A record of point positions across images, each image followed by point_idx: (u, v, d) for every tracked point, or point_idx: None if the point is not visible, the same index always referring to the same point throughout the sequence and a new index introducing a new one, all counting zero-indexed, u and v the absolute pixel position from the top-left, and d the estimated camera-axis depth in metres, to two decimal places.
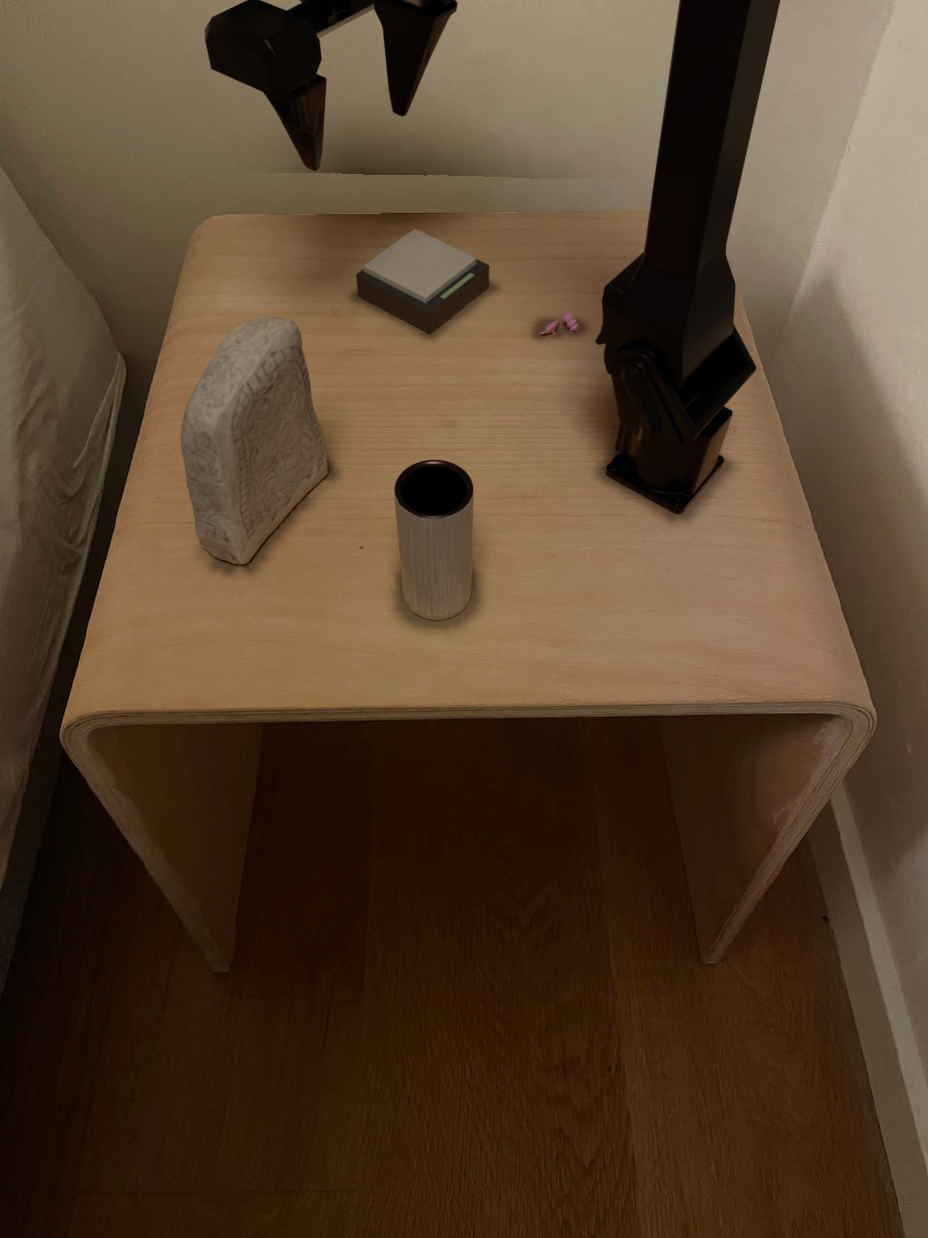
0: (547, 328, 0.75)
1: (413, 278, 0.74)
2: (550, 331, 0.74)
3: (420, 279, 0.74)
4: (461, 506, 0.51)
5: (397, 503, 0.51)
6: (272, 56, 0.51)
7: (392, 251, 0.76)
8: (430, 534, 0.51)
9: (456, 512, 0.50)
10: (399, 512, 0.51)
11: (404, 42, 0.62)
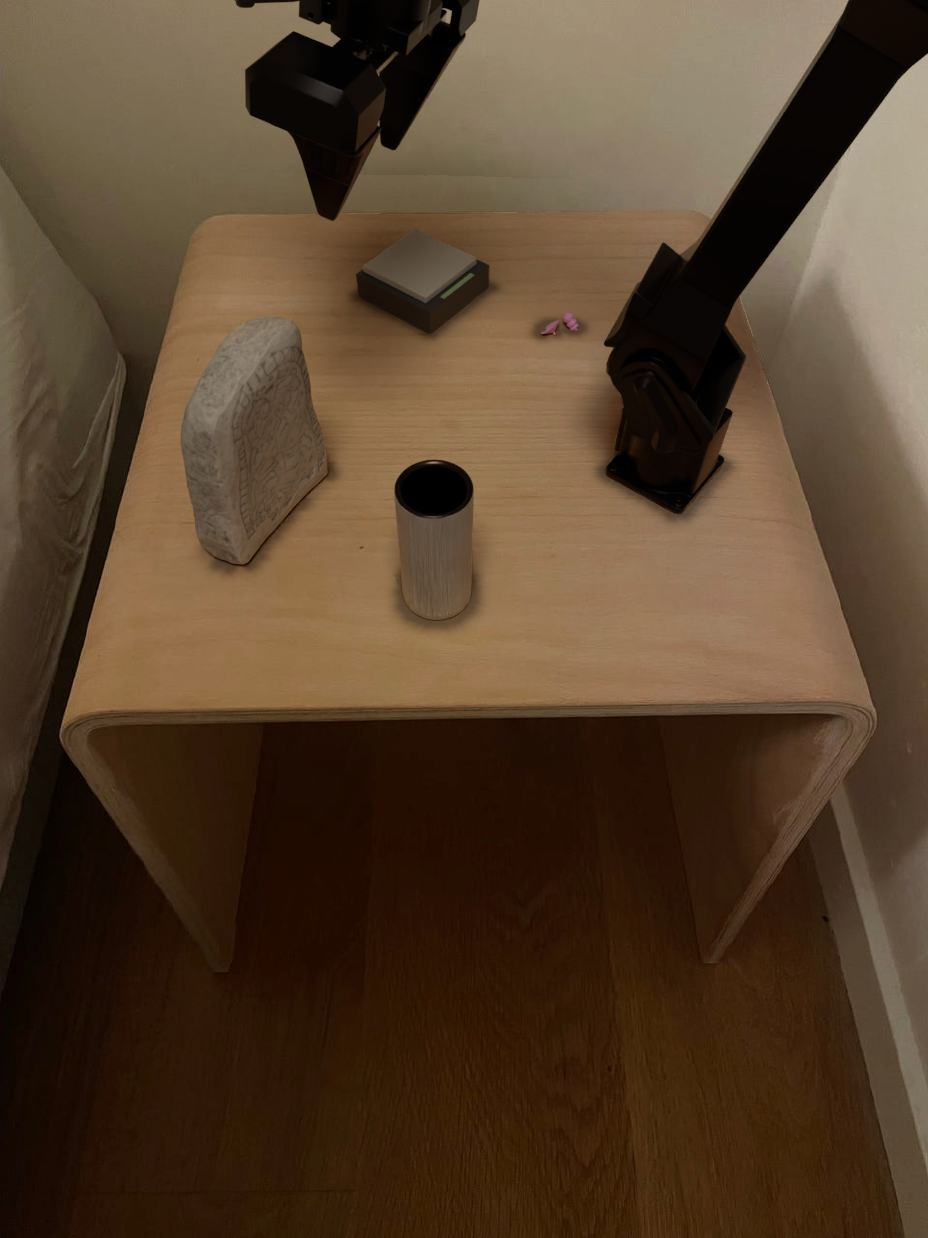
0: (547, 328, 0.75)
1: (413, 278, 0.74)
2: (550, 331, 0.74)
3: (420, 279, 0.74)
4: (461, 506, 0.51)
5: (397, 503, 0.51)
6: (350, 110, 0.44)
7: (392, 251, 0.76)
8: (430, 534, 0.51)
9: (456, 512, 0.50)
10: (399, 512, 0.51)
11: (407, 72, 0.56)
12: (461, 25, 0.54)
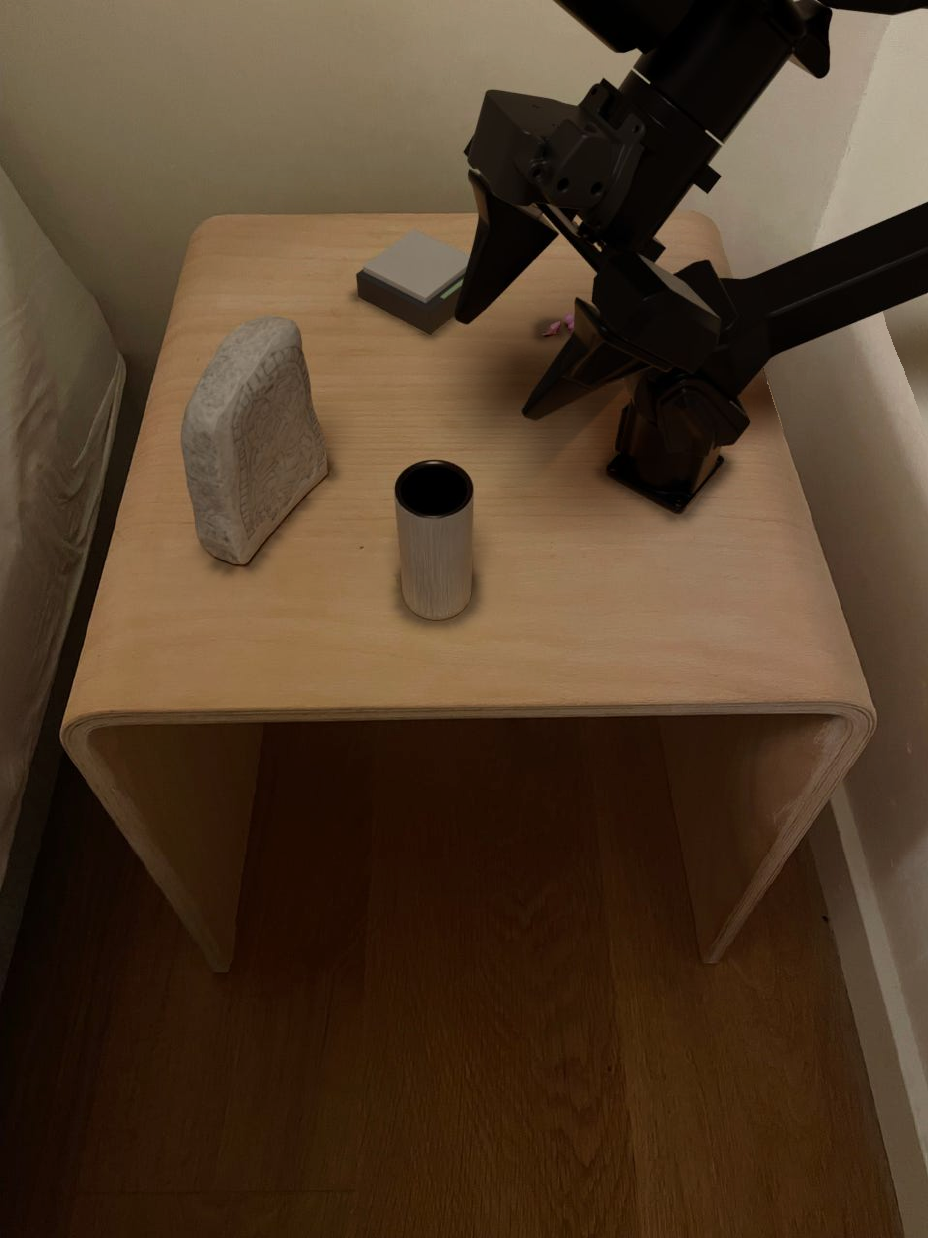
0: None
1: (413, 278, 0.74)
2: (551, 332, 0.74)
3: (420, 279, 0.74)
4: (461, 506, 0.51)
5: (397, 503, 0.51)
6: (718, 336, 0.44)
7: (392, 251, 0.76)
8: (430, 534, 0.51)
9: (456, 512, 0.50)
10: (399, 512, 0.51)
11: (511, 251, 0.52)
12: None
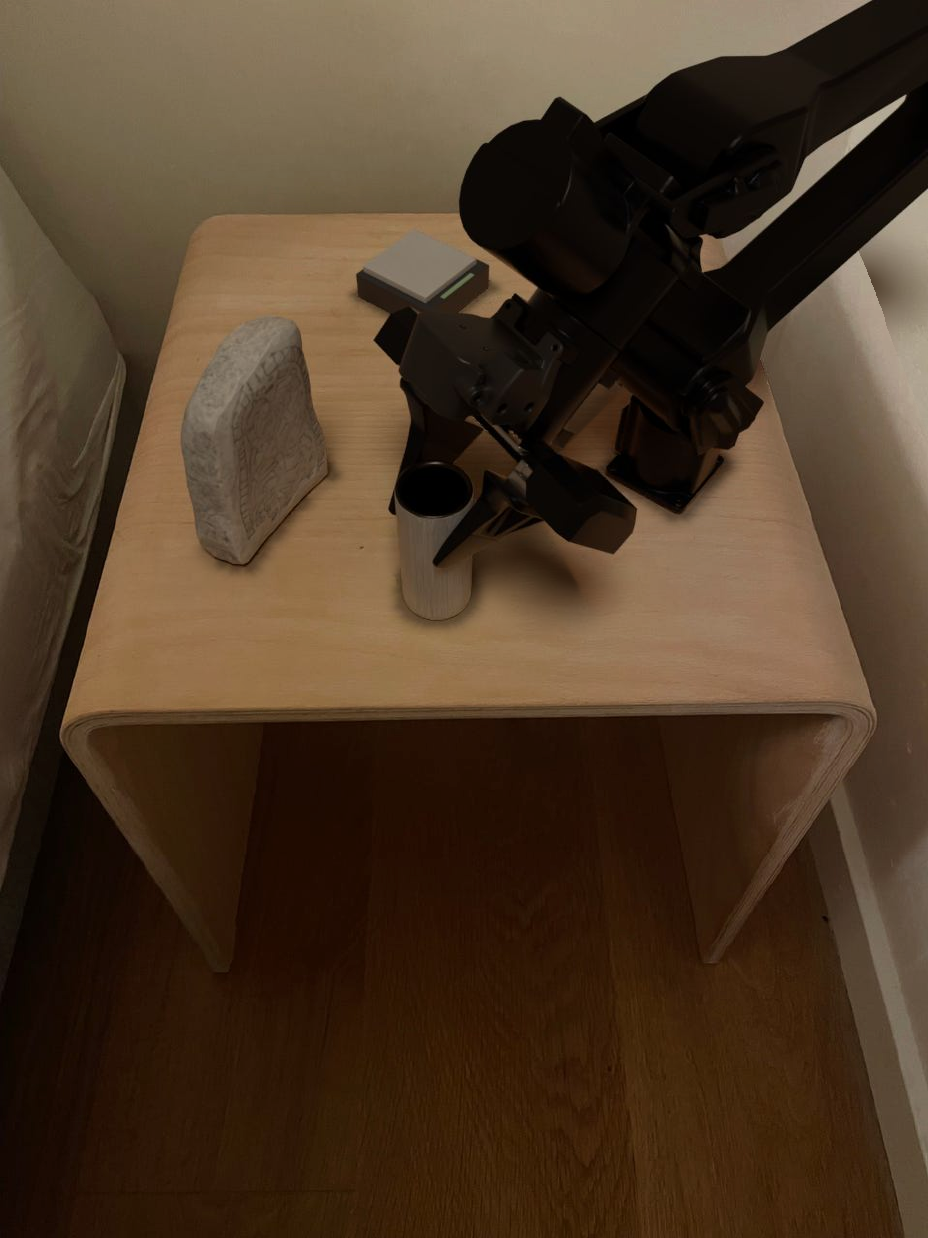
0: None
1: (413, 278, 0.74)
2: None
3: (420, 279, 0.74)
4: (461, 506, 0.51)
5: (397, 503, 0.51)
6: None
7: (392, 251, 0.76)
8: (430, 534, 0.51)
9: (456, 512, 0.50)
10: (399, 512, 0.51)
11: (443, 450, 0.54)
12: None
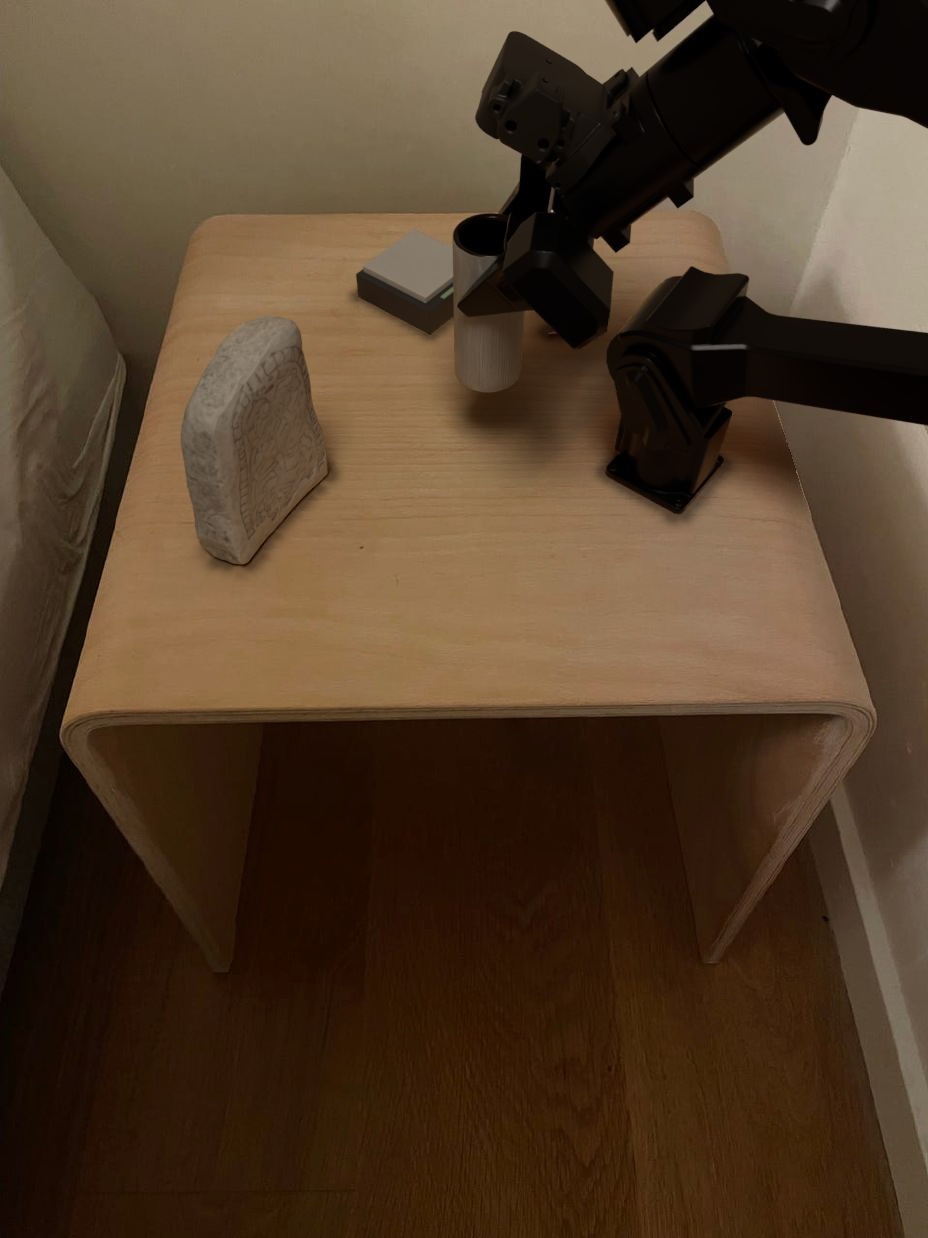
0: None
1: (413, 278, 0.74)
2: None
3: (420, 279, 0.74)
4: (494, 254, 0.52)
5: None
6: (605, 325, 0.47)
7: (392, 251, 0.76)
8: (462, 271, 0.54)
9: (487, 257, 0.52)
10: None
11: None
12: None
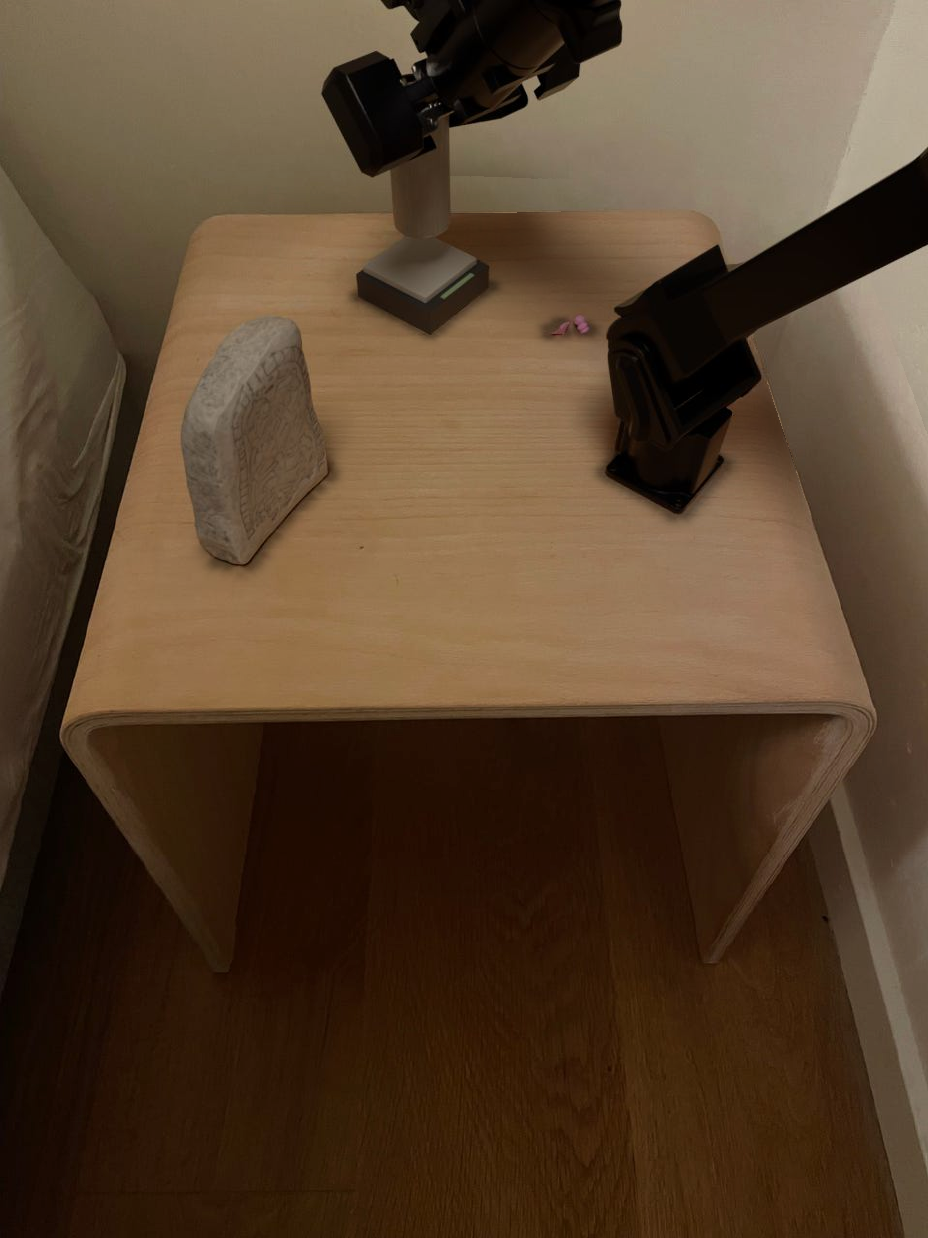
0: None
1: (413, 278, 0.74)
2: (559, 332, 0.74)
3: (420, 279, 0.74)
4: None
5: None
6: (380, 159, 0.56)
7: (392, 251, 0.76)
8: None
9: None
10: None
11: None
12: (541, 97, 0.63)
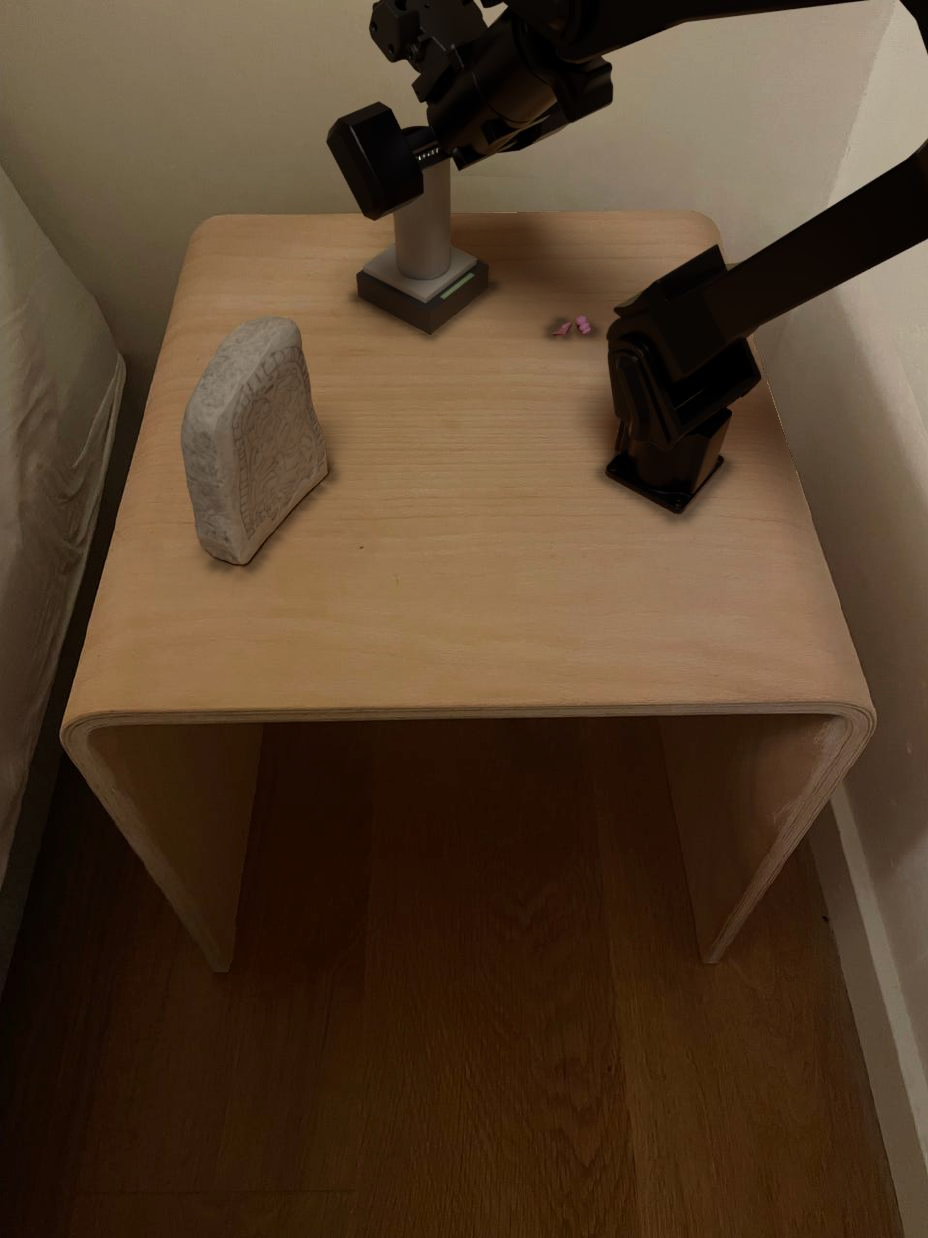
0: None
1: None
2: (561, 332, 0.74)
3: None
4: None
5: None
6: (382, 205, 0.59)
7: (392, 251, 0.76)
8: None
9: None
10: None
11: None
12: (537, 140, 0.66)
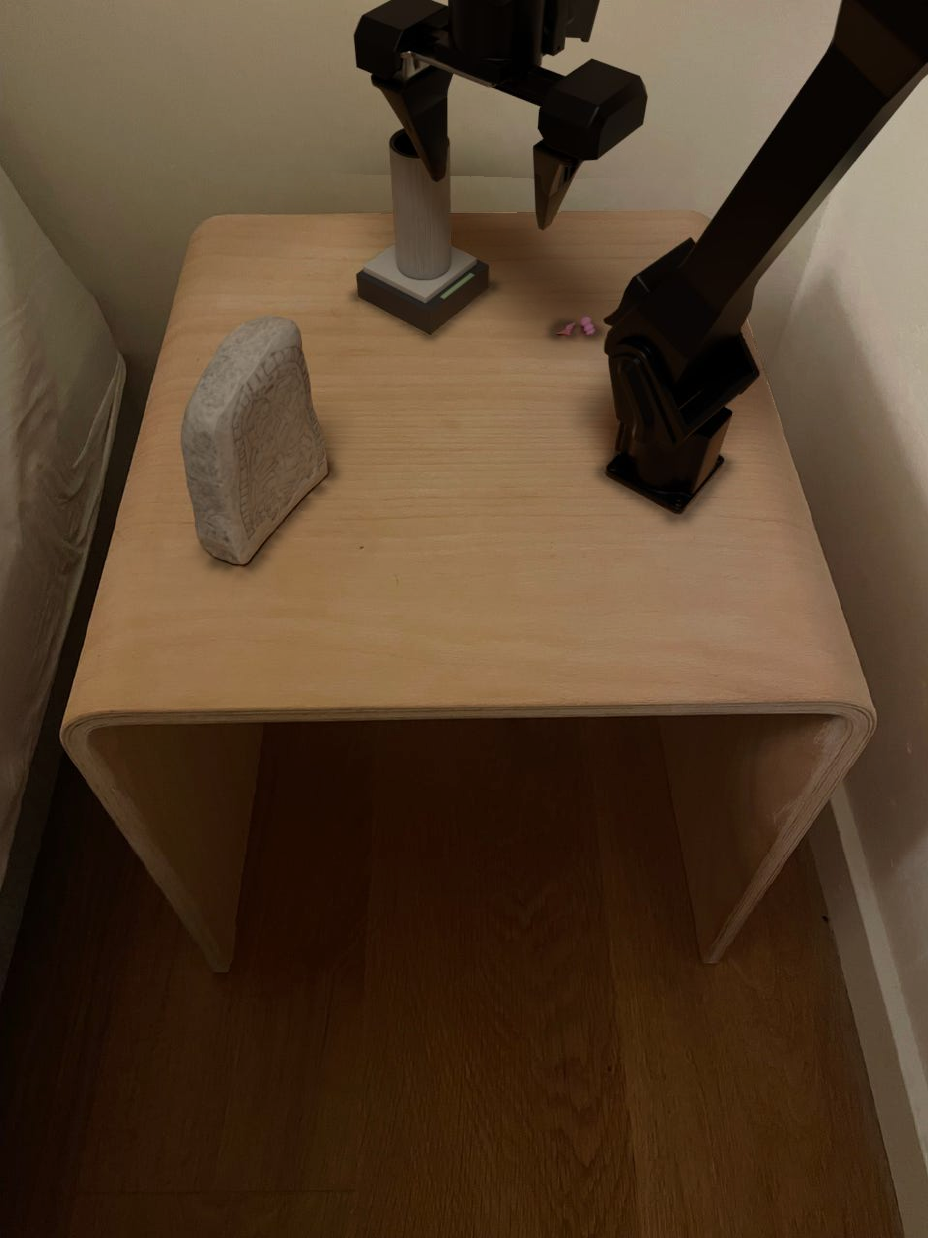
0: None
1: None
2: (564, 332, 0.74)
3: None
4: (402, 153, 0.66)
5: None
6: (356, 30, 0.57)
7: (392, 251, 0.76)
8: None
9: (396, 152, 0.66)
10: None
11: None
12: (545, 133, 0.52)
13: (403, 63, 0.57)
